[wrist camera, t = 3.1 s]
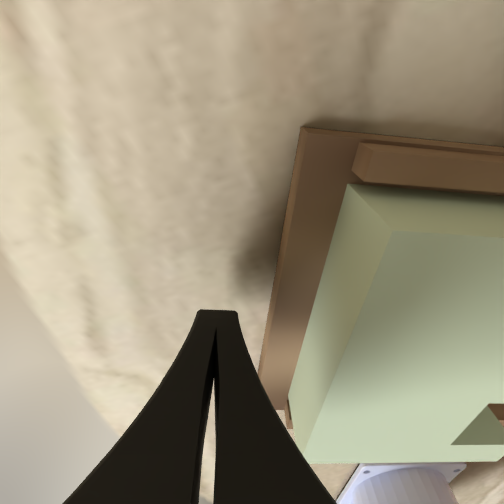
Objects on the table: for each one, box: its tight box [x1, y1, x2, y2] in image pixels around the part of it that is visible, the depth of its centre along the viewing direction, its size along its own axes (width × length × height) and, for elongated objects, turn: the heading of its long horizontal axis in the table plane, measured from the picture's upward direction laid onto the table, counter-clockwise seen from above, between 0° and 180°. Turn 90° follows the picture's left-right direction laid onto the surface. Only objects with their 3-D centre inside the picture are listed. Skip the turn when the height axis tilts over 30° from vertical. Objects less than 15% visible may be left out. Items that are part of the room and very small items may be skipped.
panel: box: [288, 184, 504, 464], centre depth 11 cm, size 11×9×3 cm
